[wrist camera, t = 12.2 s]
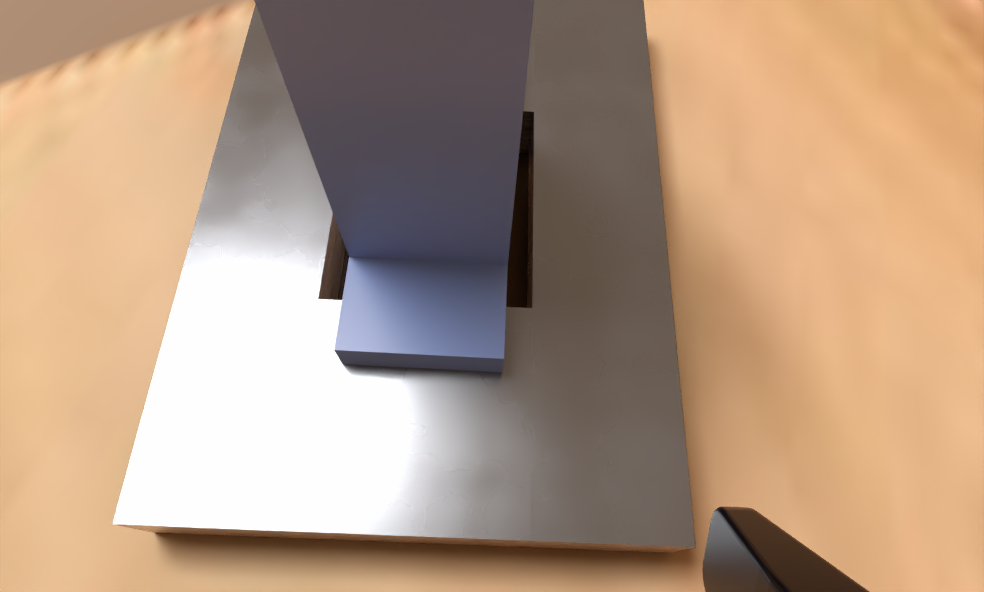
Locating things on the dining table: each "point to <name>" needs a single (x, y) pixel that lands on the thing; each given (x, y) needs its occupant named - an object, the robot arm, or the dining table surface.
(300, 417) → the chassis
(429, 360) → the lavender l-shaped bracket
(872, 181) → the dining table surface
